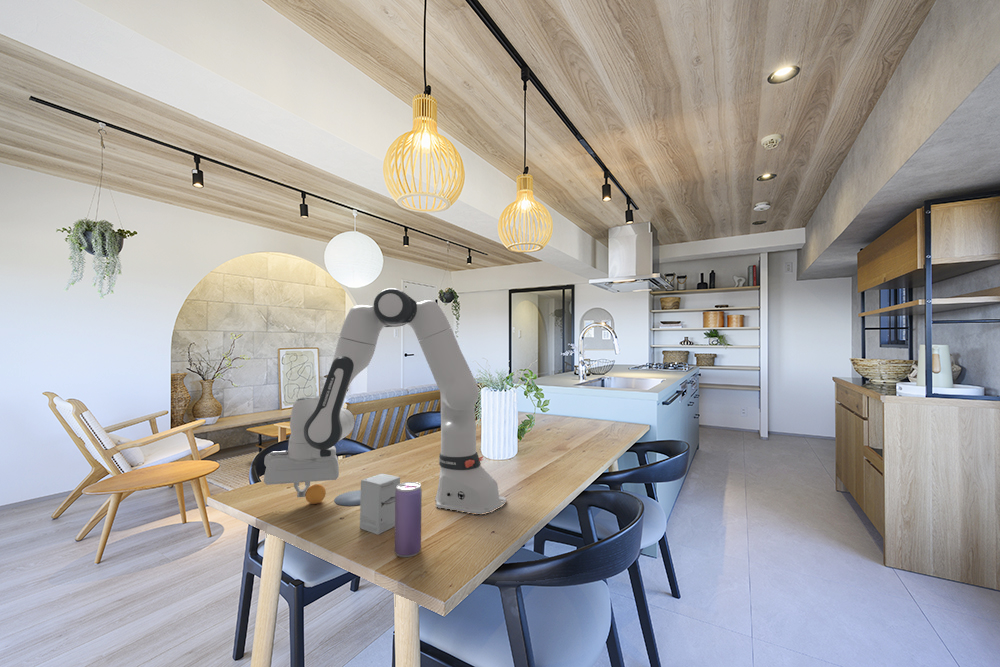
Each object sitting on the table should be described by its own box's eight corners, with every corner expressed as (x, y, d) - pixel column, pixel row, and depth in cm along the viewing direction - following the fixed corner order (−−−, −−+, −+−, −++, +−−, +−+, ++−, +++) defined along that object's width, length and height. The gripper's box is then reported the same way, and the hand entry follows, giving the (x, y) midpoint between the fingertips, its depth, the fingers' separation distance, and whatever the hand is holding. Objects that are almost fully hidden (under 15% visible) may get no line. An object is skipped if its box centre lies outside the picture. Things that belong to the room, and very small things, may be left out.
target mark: (386, 496, 128) (386, 495, 128) (351, 509, 117) (351, 508, 117) (361, 488, 135) (361, 487, 135) (325, 499, 124) (325, 499, 124)
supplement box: (378, 535, 101) (379, 484, 101) (359, 528, 104) (359, 479, 105) (400, 524, 107) (400, 476, 107) (381, 518, 111) (381, 472, 111)
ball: (318, 510, 121) (332, 494, 123) (304, 504, 117) (319, 488, 119) (312, 499, 125) (325, 484, 126) (298, 493, 121) (312, 477, 123)
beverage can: (414, 559, 89) (415, 491, 90) (389, 556, 90) (390, 489, 91) (425, 546, 95) (425, 482, 95) (401, 544, 96) (402, 480, 97)
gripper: (263, 454, 114) (259, 504, 113) (340, 450, 122) (337, 497, 121) (266, 449, 120) (263, 496, 119) (340, 445, 128) (337, 490, 127)
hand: (301, 496), depth 120 cm, fingers closed
